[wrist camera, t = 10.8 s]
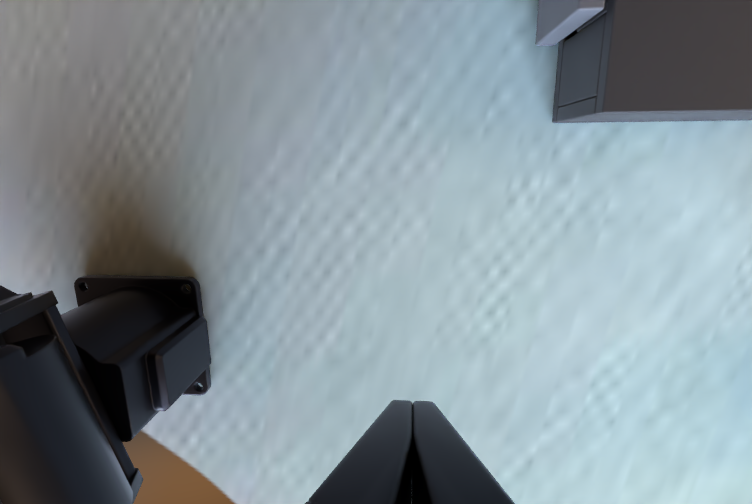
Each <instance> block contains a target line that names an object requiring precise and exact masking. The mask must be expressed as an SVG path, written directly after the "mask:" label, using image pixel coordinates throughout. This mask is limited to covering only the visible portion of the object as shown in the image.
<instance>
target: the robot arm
mask: <svg viewBox="0 0 752 504" xmlns="http://www.w3.org/2000/svg"><path fill="white" fill-rule="evenodd" d="M85 283H86V284H87V285H88V288H87V287H86V286H85ZM186 284H188V285H189V286H190V287H191V291H189V290H187V289H186ZM74 287H75V292H76V298H77V303H78V307H77V308H75V309H73V310H70V311H68V312H66V313H64V314H62V315H60V313H59V311H58V309H57V307H56V304H58V302H57V300H56V297H55V295H54V293H53V291H48V292H45V293H41V294H38V295H34V296H33V295H32V293H31V292H30V293H26V294H22V295H21V294H16V293H14V292H12V291H10V290H8V289H6V288H4V287H3V286H1V285H0V504H133V503H134V500H135V498H136V496H137V493H138V491H139V488H140V487H141V484H142V481H143V478H142V476H141V474H140V471H139V469H138V468H134V466H133V464H132V462H131V460H130V458H129V456H128V454H127V452H126V449H125V447H124V446H123V443H122V442H128V441H130V440H132V439H133V438H134V436H135V435H136V434H137V433H138V432H139V431H140V430H141V429H142V428H143V427H144V426H145V425H146V424H147V423H148V422H149V421H150V420H151V419H152V418H153V417H154V416H155V415H156V414H157V413H158V412H159V411H166V410H167V409H168V408H169V407H170V406H171V405H172V404H173V403H174V402H175V401H176V400H177V399H178V398H179V397H180V396H181V395H203V394H205V393H206V392H207V391H208V390H209V388H210V387H211V379H210V370H209V365H210V364H211V356H210V347H209V339H208V330H207V321H206V320H205V318H204V317H203V309H202V301H201V292H200V285H199V283H198V281H197V280H196V279H194V278H192V277H159V276H101V275H87V276H83V277H80V278H78V279H77V280H76V281H75V283H74ZM198 383H201V384H202V385H203V387H200V386H199V385H198ZM305 504H515V503H514V502H513V501H512V500H511V498H510V497H509V496H508V495H507V493H506V492H505V491H504V490H503V488H502V487H501V486H500V485H499V483H498V482H497V481H496V480H495V478H494V477H493V476H492V475H491V473H490V472H489V471H488V470H487V468H486V467H485V466H484V465H483V463H482V462H481V461H480V460H479V459H478V457H477V456H476V455H475V454H474V452H473V451H472V450H471V449H470V447H469V446H468V445H467V444H466V442H465V441H464V440H463V439H462V437H461V436H460V435H459V434H458V432H457V431H456V430H455V429H454V427H453V426H452V425H451V424H450V422H449V421H448V420H447V419H446V417H445V416H444V415H443V414H442V412H441V411H440V410H439V409H438V408H437V406H436V405H435V404H434V403H433V402H429V401H415V402H414V403H413V405H412V402H411V401H404V400H393V401H392V402H391V403H390V404H389V405H388V406H387V407H386V409H385V410H384V411H383V412H382V413H381V415H380V416H379V417H378V418H377V419H376V420H375V422H374V423H373V424H372V425H371V426H370V428H369V429H368V430H367V431H366V432H365V433H364V435H363V436H362V437H361V438H360V439H359V441H358V442H357V443H356V444H355V445H354V447H353V448H352V449H351V450H350V451H349V452H348V454H347V455H346V456H345V457H344V458H343V460H342V461H341V462H340V463H339V464H338V465H337V467H336V468H335V469H334V470H333V471H332V473H331V474H330V475H329V476H328V477H327V479H326V480H325V481H324V482H323V483H322V484H321V486H320V487H319V488H318V489H317V490H316V492H315V493H314V494H313V495H312V496H311V497H310V499H309V502H306V503H305Z"/></svg>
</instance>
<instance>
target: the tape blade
mask: <svg viewBox="0 0 752 504" xmlns="http://www.w3.org/2000/svg"><path fill="white" fill-rule="evenodd" d="M604 4H605V0H539V5H538V18H537V32H536V46H553V45H555V44H557V43H558V42H559V41H561V40H562V39H564V38H565V37H566V36H568V35H569V34H570V33H572V32H573V31H574V30H576V29H577V28H578V27H580V26H581V25H583V24H584V23H585V22H587V21H588V20H589V19H591V18H592V17H593V16H595V15H596V14H597V13H599V12H600V11H602V10H603V8H604Z"/></svg>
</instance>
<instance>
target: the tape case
mask: <svg viewBox="0 0 752 504" xmlns="http://www.w3.org/2000/svg"><path fill="white" fill-rule="evenodd" d="M718 120H752V0H605V4H604V8H603V10H602V11H600V12H599V13H597V14H596V15H595V16H593V17H592V18H591V19H589V20H588V21H587V22H585V23H584V24H583V25H581V26H580V27H578V28H577V29H576V30H574V31H573V32H572V33H570V34H569V35H568V36H566V37H565V38H564V39H562V40H561V41H559V51H558V62H557V74H556V85H555V97H554V108H553V119H552V122H553V123H580V122H649V121H718Z"/></svg>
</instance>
